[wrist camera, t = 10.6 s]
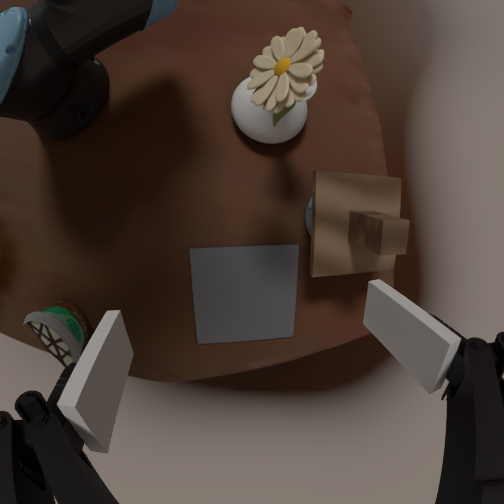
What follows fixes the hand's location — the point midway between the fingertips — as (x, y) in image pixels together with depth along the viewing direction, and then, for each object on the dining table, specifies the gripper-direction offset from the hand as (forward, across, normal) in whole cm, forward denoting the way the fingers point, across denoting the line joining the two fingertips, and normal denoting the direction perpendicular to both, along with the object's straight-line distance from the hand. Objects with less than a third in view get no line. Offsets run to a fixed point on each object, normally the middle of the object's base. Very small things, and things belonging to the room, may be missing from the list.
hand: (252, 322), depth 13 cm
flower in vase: (+30, +8, +16) cm, 34 cm away
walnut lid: (+22, +19, -1) cm, 29 cm away
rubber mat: (+29, +3, -13) cm, 31 cm away
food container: (+29, -28, -14) cm, 43 cm away
